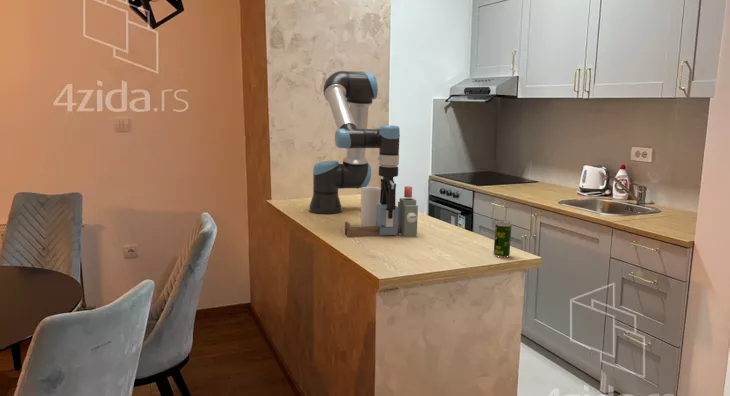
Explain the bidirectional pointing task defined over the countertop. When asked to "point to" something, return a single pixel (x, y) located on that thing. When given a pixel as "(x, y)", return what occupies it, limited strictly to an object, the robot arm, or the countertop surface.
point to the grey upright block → (407, 217)
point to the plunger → (408, 192)
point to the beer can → (502, 238)
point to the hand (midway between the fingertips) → (386, 224)
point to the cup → (369, 205)
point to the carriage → (382, 220)
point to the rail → (363, 231)
